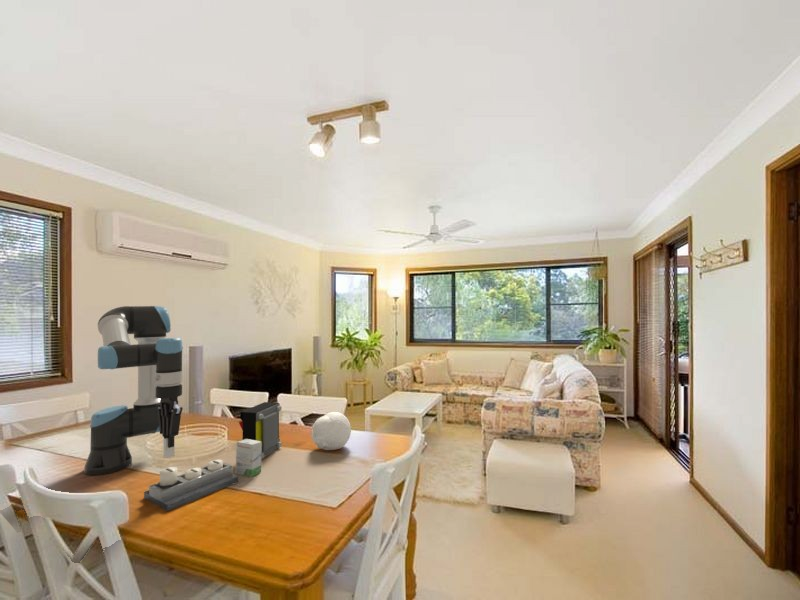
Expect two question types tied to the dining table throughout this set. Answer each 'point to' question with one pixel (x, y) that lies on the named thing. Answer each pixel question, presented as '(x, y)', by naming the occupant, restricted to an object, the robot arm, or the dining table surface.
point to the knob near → (168, 476)
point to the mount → (190, 487)
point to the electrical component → (262, 425)
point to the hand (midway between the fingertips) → (169, 456)
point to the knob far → (215, 465)
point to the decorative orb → (331, 431)
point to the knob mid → (192, 473)
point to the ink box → (248, 457)
